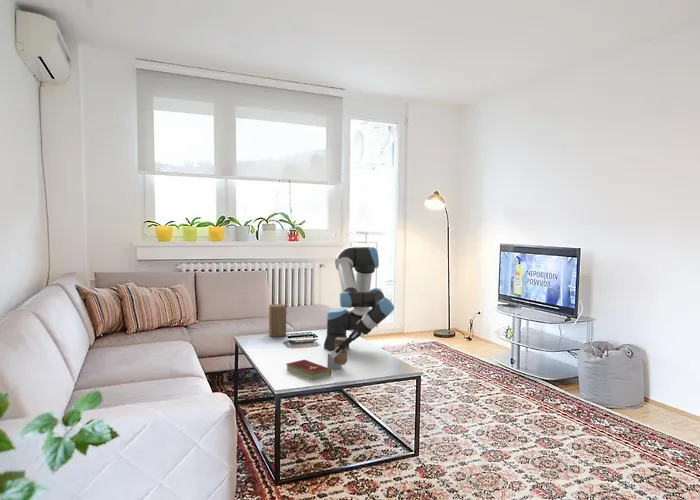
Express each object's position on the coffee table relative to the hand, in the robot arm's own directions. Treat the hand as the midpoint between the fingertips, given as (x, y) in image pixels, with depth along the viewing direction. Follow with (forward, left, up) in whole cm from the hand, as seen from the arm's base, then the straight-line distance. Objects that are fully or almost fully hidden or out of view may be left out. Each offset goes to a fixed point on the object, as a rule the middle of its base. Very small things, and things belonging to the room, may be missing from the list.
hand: (333, 354), depth 234 cm
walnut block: (0, +4, -4) cm, 5 cm away
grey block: (-11, -2, -10) cm, 15 cm away
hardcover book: (0, -13, -11) cm, 17 cm away
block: (-70, -58, -11) cm, 91 cm away
